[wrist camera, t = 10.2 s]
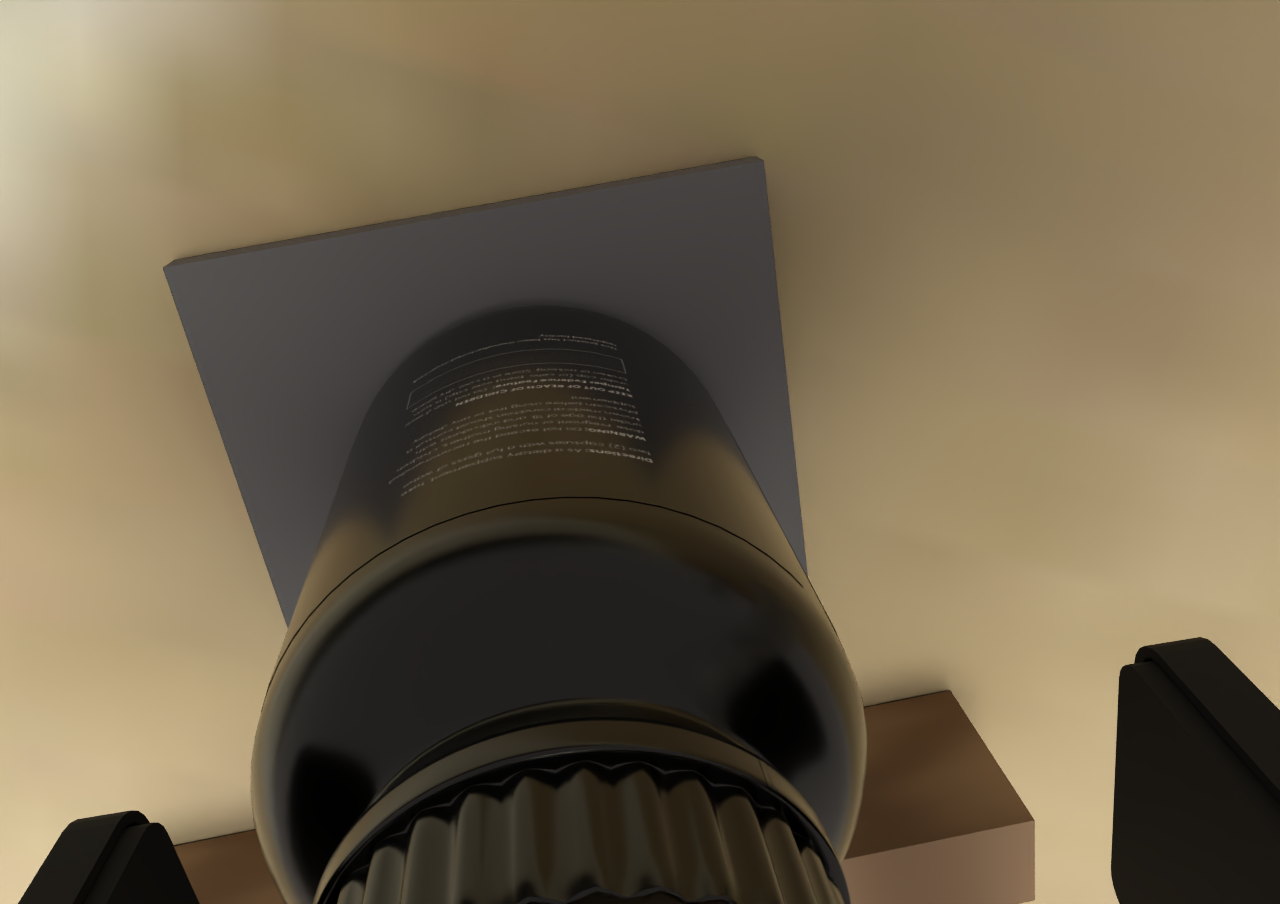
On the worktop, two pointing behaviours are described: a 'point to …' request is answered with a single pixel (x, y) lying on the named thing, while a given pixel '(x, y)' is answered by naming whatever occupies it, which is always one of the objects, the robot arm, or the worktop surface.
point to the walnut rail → (883, 839)
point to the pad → (468, 288)
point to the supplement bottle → (555, 648)
